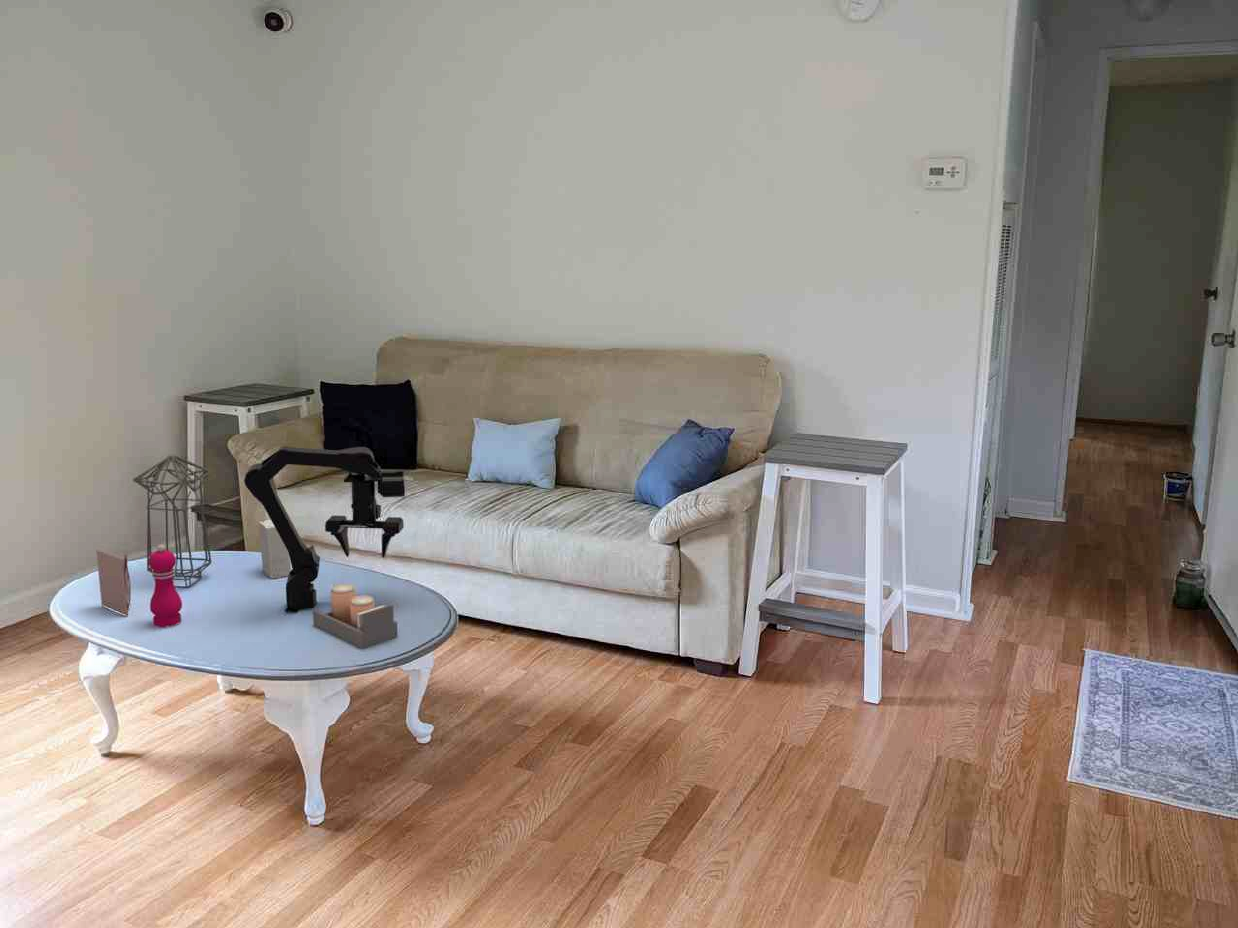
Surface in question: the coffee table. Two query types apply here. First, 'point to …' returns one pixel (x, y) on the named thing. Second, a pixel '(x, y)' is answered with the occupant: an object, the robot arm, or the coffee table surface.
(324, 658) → the coffee table surface
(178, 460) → the geometric lantern
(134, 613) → the coffee table surface
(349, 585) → the terracotta jar
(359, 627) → the panel
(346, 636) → the tray
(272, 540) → the skincare box
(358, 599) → the jar in lane
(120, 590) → the brown paper bag
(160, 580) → the pepper mill
